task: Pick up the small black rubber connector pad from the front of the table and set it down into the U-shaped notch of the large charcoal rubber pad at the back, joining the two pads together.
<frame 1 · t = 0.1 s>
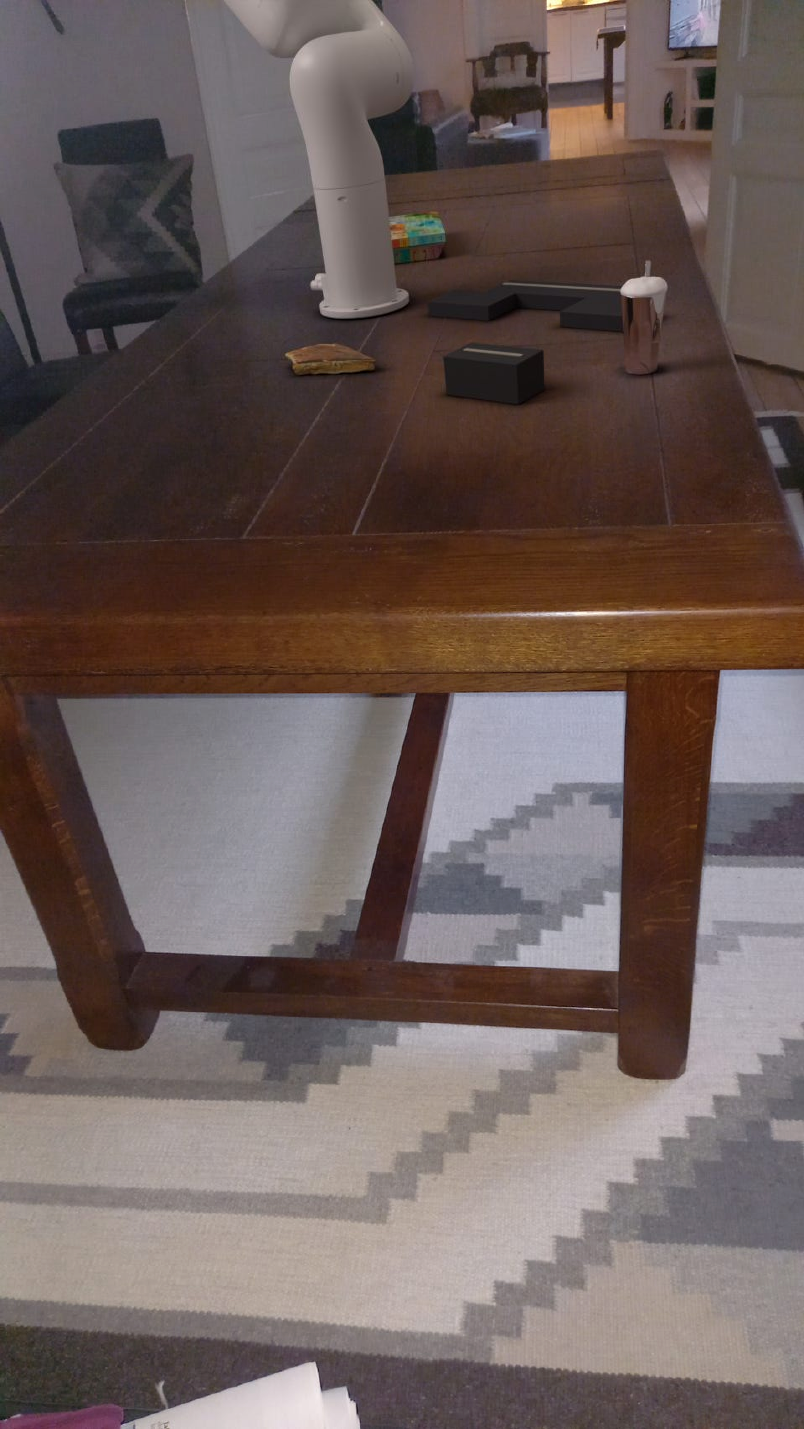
socket pad: (537, 316, 124), on the table
puzzle game: (409, 252, 166), on the table
connector pad: (495, 392, 102), on the table
milkshake: (641, 370, 103), on the table
toasted sandwich half: (336, 366, 117), on the table
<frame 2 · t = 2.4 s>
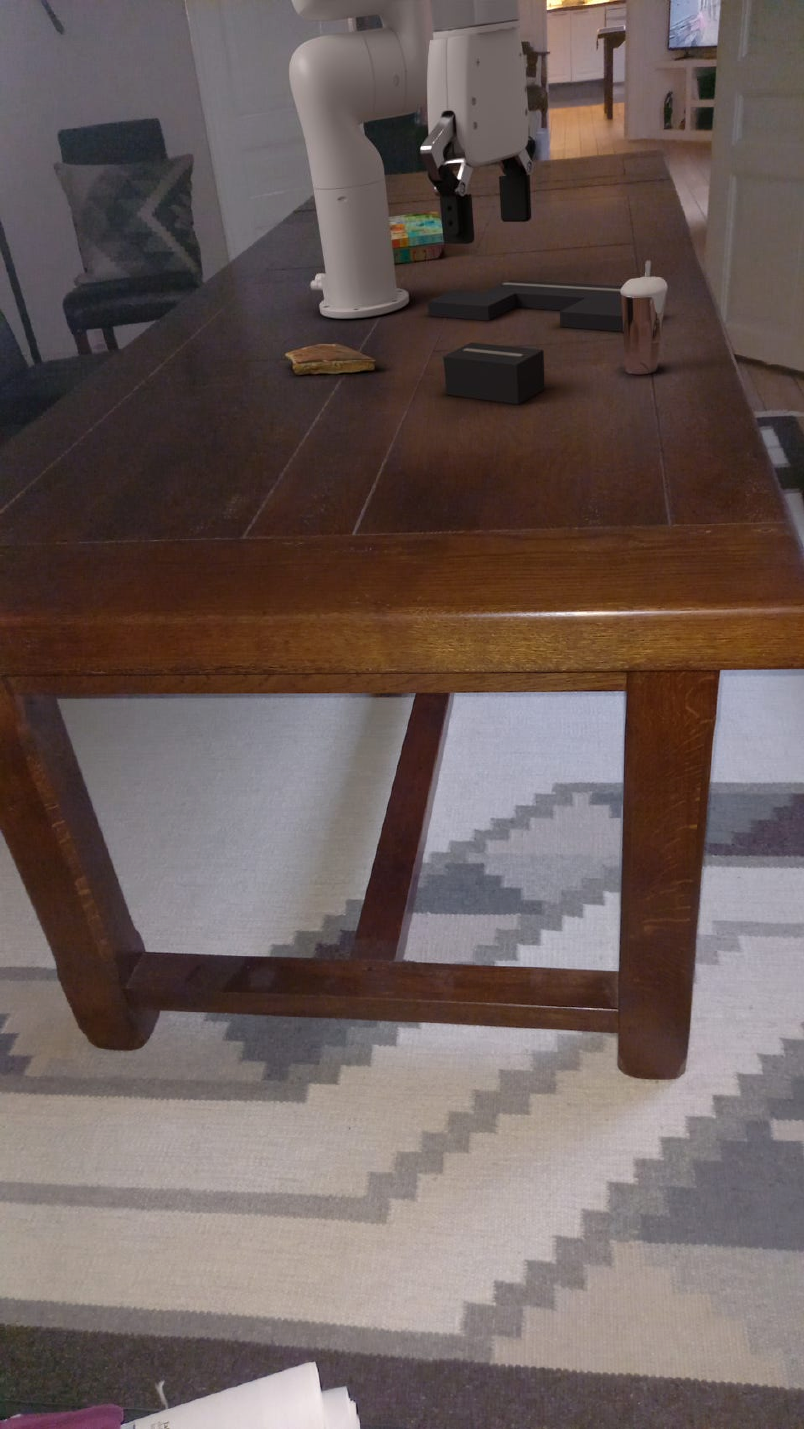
hand: (488, 231, 94), 15 cm above the table, tool pointing down, fingers open, 9 cm apart
nothing on the table moved.
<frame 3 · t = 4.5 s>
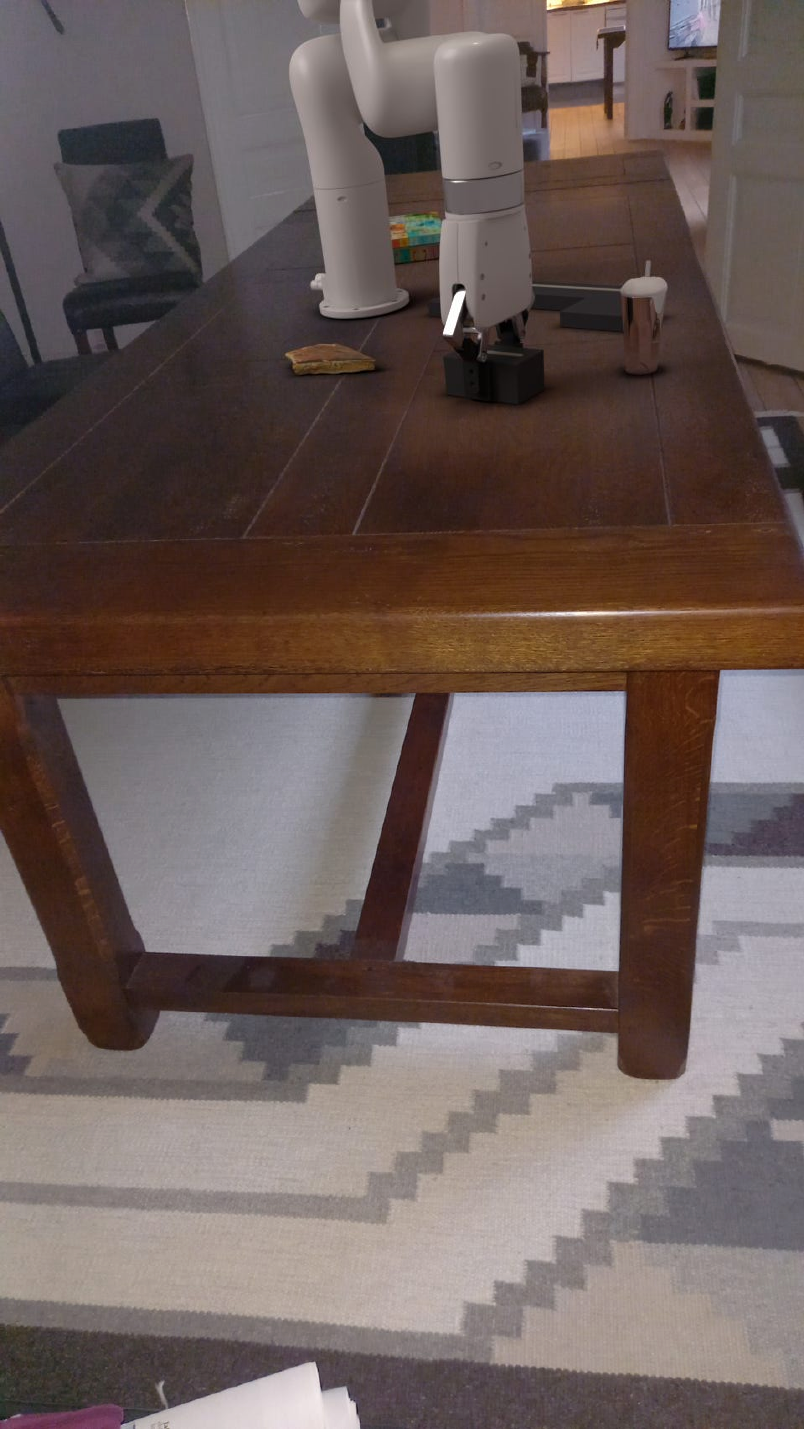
hand: (494, 388, 102), 0 cm above the table, tool pointing down, fingers closed on connector pad, 5 cm apart
connector pad: (495, 392, 102), on the table, touching gripper
everything else where it was.
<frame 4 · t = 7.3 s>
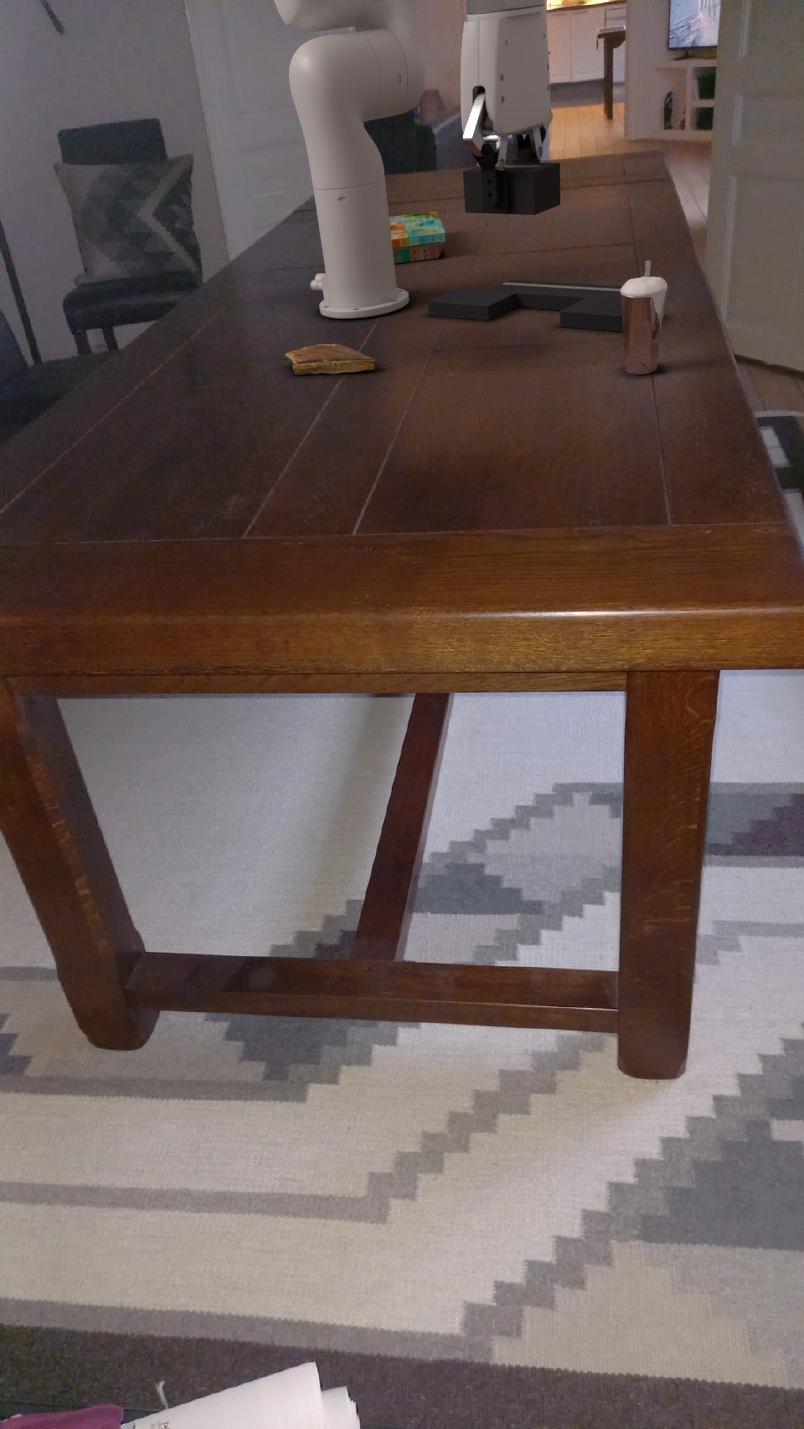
hand: (511, 204, 105), 15 cm above the table, tool pointing down, fingers closed on connector pad, 5 cm apart
connector pad: (512, 209, 106), point 15 cm above the table, touching gripper
everything else where it was.
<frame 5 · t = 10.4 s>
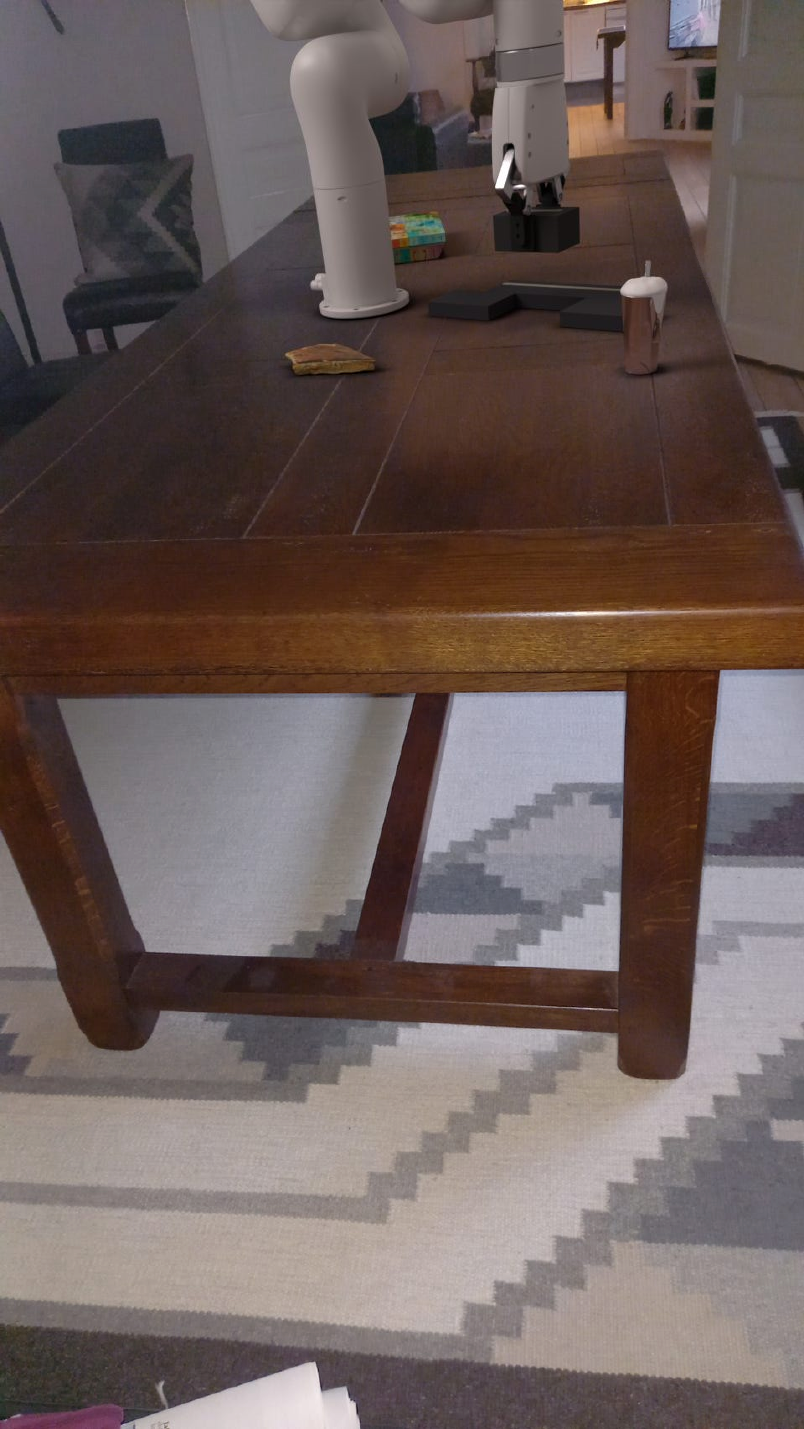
hand: (536, 244, 119), 8 cm above the table, tool pointing down, fingers closed on connector pad, 5 cm apart
connector pad: (537, 247, 119), point 8 cm above the table, touching gripper
everything else where it was.
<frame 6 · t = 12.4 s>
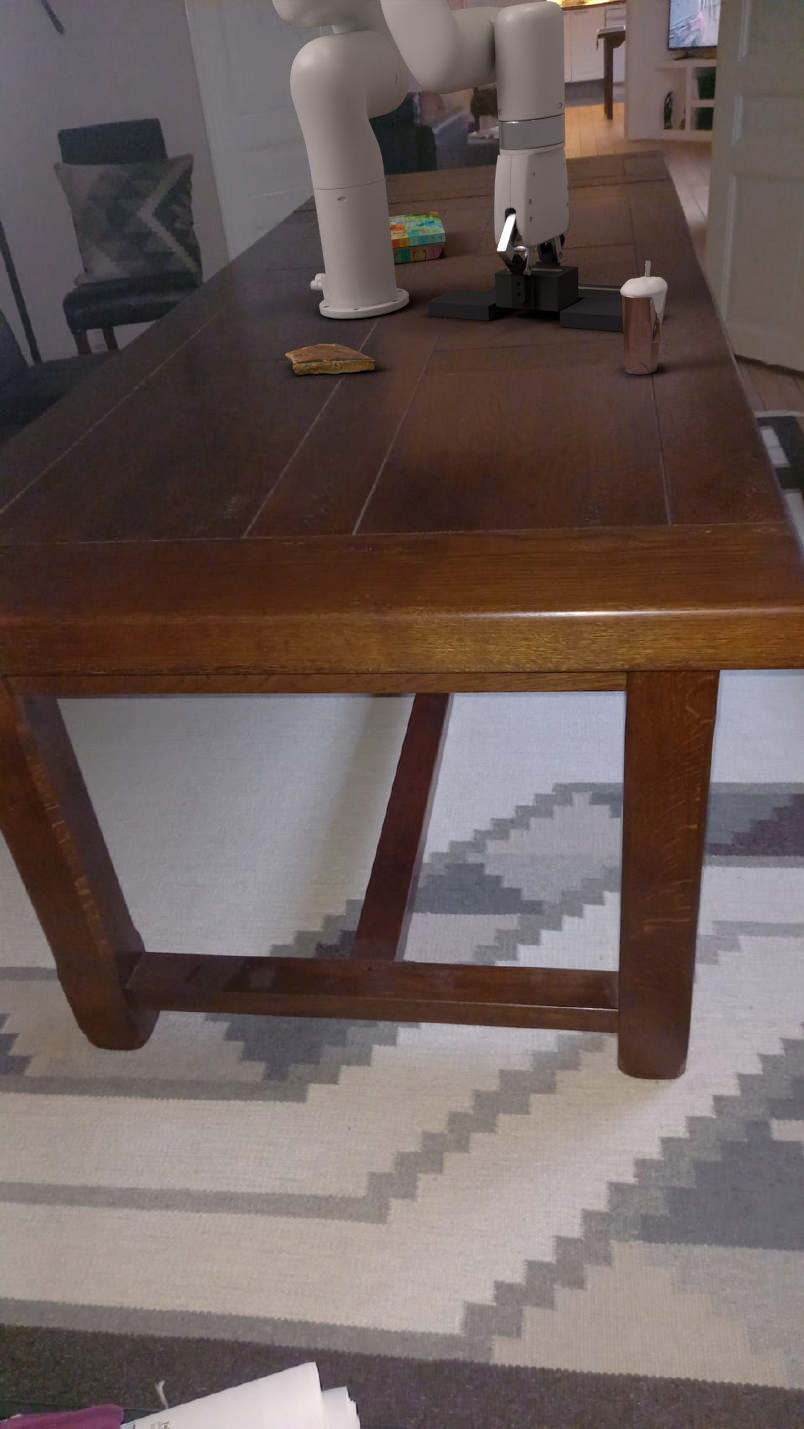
hand: (536, 300, 123), 2 cm above the table, tool pointing down, fingers closed on connector pad, 5 cm apart
connector pad: (537, 304, 123), point 2 cm above the table, touching gripper
everything else where it was.
when the fingers open (2 cm above the table, at t = 16.1 s): connector pad drops 2 cm, on the table.
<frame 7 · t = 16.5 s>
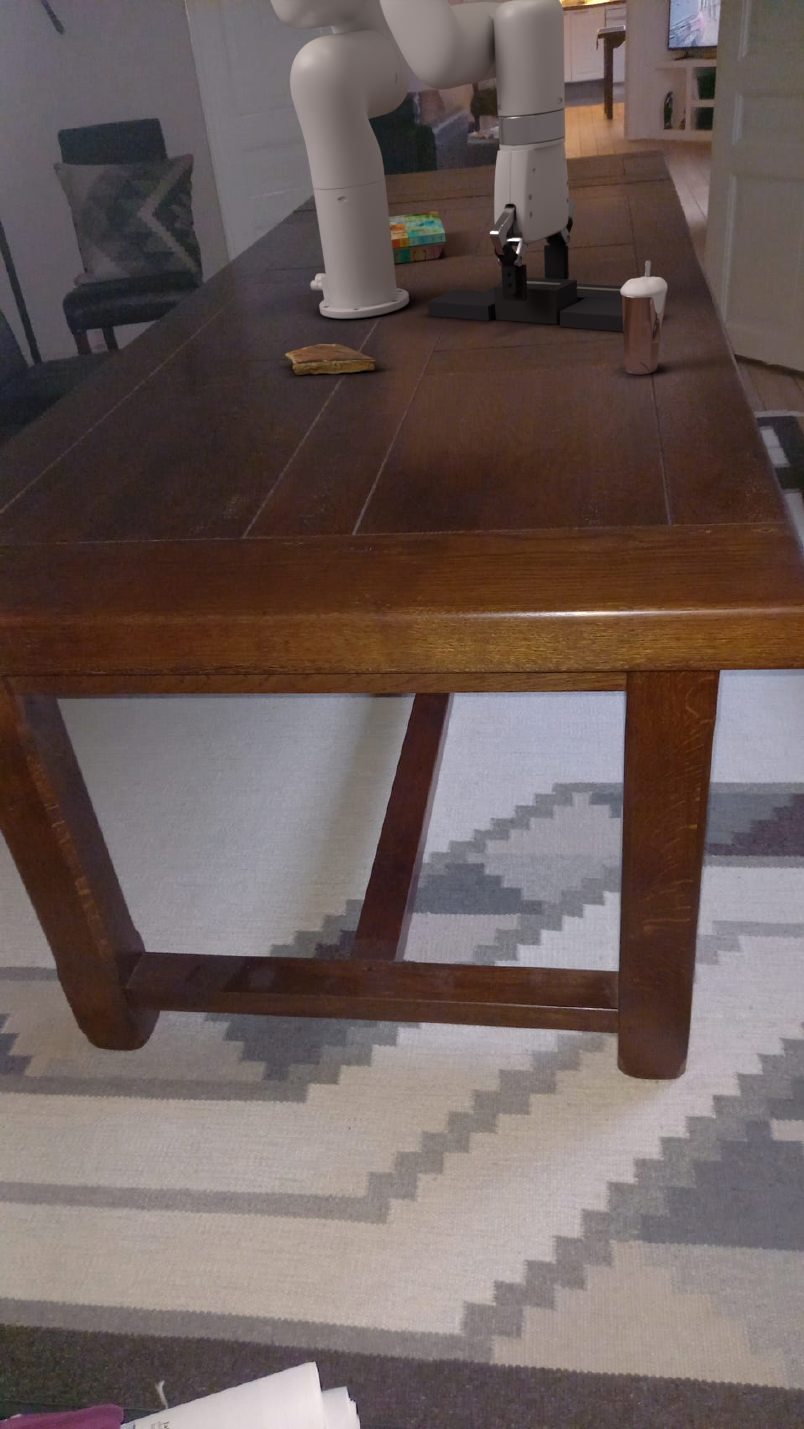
hand: (536, 289, 122), 3 cm above the table, tool pointing down, fingers open, 9 cm apart
connector pad: (536, 316, 124), on the table
everything else where it was.
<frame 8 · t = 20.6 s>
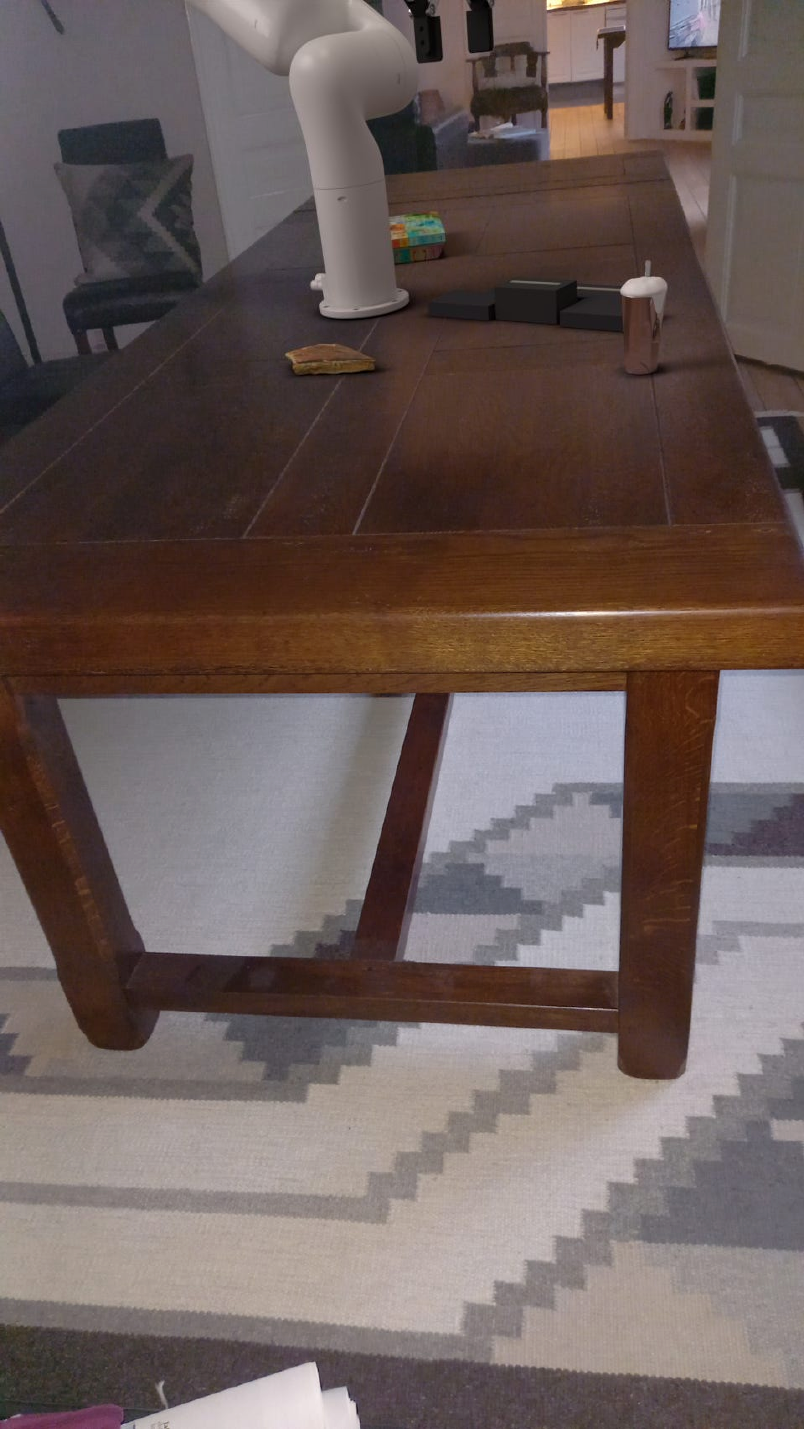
hand: (456, 57, 109), 28 cm above the table, tool pointing down, fingers open, 9 cm apart
nothing on the table moved.
at the end: connector pad 0.1 cm off-centre on the socket pad, point 0.0 cm above the socket pad's base; connector pad tilted 0°; the gripper is holding nothing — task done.
